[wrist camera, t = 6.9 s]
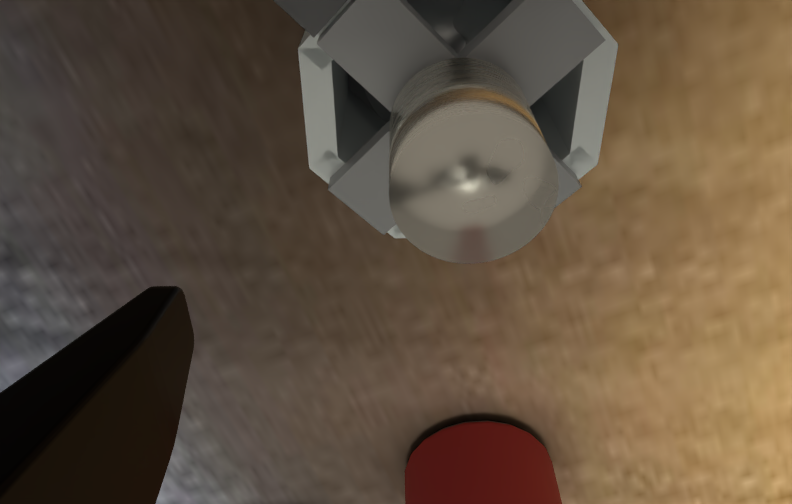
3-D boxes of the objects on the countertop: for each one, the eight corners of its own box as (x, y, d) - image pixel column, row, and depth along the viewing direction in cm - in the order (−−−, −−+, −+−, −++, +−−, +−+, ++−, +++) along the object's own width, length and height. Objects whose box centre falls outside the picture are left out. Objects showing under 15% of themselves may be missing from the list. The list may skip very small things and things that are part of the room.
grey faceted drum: (235, 13, 19) (180, 86, 14) (412, -204, 16) (421, -210, 11) (437, 192, 22) (450, 302, 17) (613, 38, 20) (689, 116, 15)
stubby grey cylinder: (325, 60, 18) (290, 196, 12) (448, -73, 16) (485, 3, 10) (441, 165, 20) (464, 334, 14) (563, 56, 18) (656, 191, 12)
